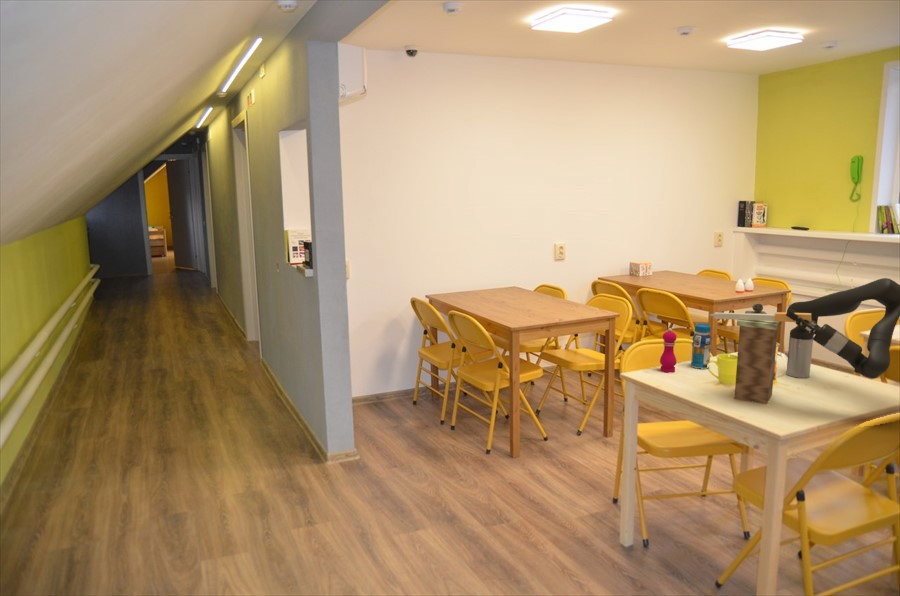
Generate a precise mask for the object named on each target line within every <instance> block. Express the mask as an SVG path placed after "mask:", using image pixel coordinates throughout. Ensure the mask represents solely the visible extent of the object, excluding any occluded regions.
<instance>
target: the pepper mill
mask: <svg viewBox="0 0 900 596" xmlns="http://www.w3.org/2000/svg"><path fill="white" fill-rule="evenodd" d="M662 340H663V348H664V349H663V352H662V354H661V356H660V359H659V363H660V371H661V372H664V373H668V372H672V373H675V371H676V367H675V366H676V365H677V357H676V355H675V351H674V348H675V346H676V340H677V334H676V333H675V332H674V331H673V329H672V328H671V327H668V328H667V331H665V332H664V333H663V334H662Z"/></svg>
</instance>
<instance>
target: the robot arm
mask: <svg viewBox="0 0 900 596" xmlns="http://www.w3.org/2000/svg"><path fill="white" fill-rule="evenodd" d="M869 300H871V301H872V300H873V301H876V302H878V303H879V304H881V305H882V306H884V307H885V312H884V315H883V317H882V318H881V319H880V320H879V321H877V322H876V323H875V324H874V325H873V326H872V327H871V329H870V331H869V334H868V340H867V344H866V350H867V351H868V352H869V353H868V357H867V356H866V355H865V354H864V353H863V347H862V346H861V345H859V344H858V343H856V342H855V341H853V340H852V339H849V337H848V336H846V335H845V334H843V333H842V332H840V331H839V330H837V329H835V328H834V327H832V326H831V325H829V324H828V323H824V324H823V325H822V326H820V325H819V323H818V322H819V318H822V317H823V318H824V317H834V316H835V317H836V316H842V315H847V314H850V313H853V312H855V311H856V310H857V309H858V308H859V306H860V305H861V303H862V302H865V301H869ZM786 313H787V314H786V316H788V317H789V318H791V319H792V320H794V321H795V322H794V323H795V325H796V326H795V327H794V328H792V329H791V330H790V331H789V339H788V353H787V362H786V372H785V373H787V374H786V375H787V376H788V377H789V376H790V377H793V378H798V379H799V378H801V379H805V378H806V377H807V378H809V377H810V376H811V364H812V355H813V354H812V353H813V346H814V345H813V344H814V342H815V343H817V344H818V345H820V346H821V347H823V348H824V349H826V350H828V351H829V352H831V353H833V354H836V355H837V356H838V357H840V358H842V359H843V360H845V361H846V362H848V364H850V366H851V367H852V368H853V369H854V370H855V371H857V373H858V374H859V375H861V376H863V377H865V378H867V379H876V378H878V377H880V376H881V375H883V374H885V373H886V372H887V371H888V370H889V367H890V364H891V353H890V348H891V345H892V340H893V335H894V332H895V328H896V326H897V324H898V321H899V319H900V284H899V283H898V282H896V281H894V280H893V279H891V278H886V277H884V278H879V279H877V280H874V281H871V282H868V283H865V284H863V285H860V286H856V287H854V288H849V289H846V290H841V291H837V292H833V293H829V294H827V295H824V296H821V297H818V298H814V299H811V300H806V301H797V302H796V301H795V302H792V303H790V305H789V306H788V307H787V309H786ZM795 313H811V322H810V321H809V320H807V319H803V318H801V317H800V316H798V315H796V314H795ZM801 321H802V322H801Z"/></svg>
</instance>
